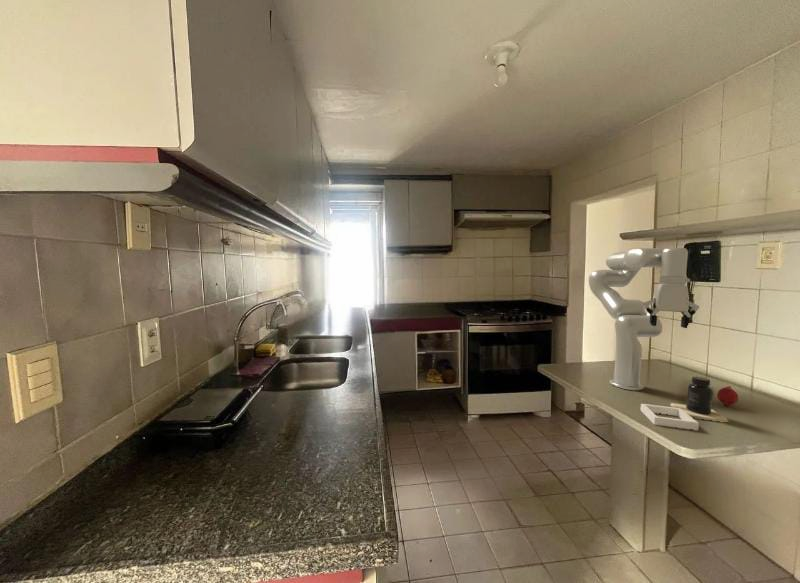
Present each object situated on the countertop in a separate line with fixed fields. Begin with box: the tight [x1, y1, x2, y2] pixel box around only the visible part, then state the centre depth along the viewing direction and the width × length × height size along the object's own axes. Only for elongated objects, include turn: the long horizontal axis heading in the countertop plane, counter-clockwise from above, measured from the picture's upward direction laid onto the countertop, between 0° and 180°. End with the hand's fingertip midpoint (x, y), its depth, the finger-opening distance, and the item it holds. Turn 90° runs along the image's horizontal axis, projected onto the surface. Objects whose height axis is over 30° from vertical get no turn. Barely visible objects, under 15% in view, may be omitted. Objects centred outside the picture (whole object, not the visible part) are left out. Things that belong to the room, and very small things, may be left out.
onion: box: [716, 385, 739, 407], centre depth 129 cm, size 6×6×8 cm
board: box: [670, 402, 729, 423], centre depth 122 cm, size 11×12×1 cm
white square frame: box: [640, 403, 700, 431], centre depth 116 cm, size 12×12×2 cm
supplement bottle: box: [685, 376, 714, 414], centre depth 121 cm, size 7×7×12 cm
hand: (668, 326), depth 127 cm, fingers open, 9 cm apart
